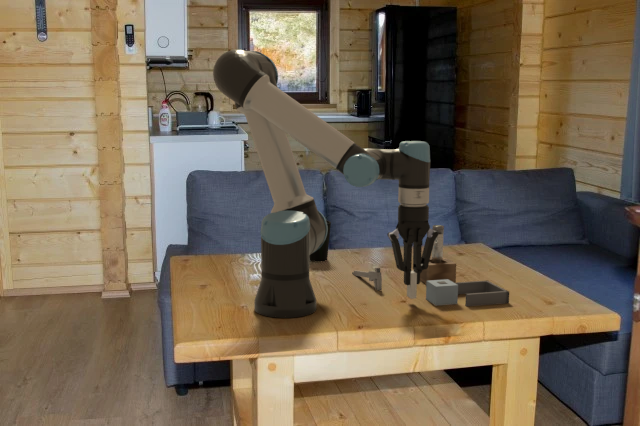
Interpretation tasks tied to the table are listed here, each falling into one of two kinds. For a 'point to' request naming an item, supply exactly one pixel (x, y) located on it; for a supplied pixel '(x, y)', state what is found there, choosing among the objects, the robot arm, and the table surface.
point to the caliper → (372, 277)
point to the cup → (322, 248)
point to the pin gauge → (438, 245)
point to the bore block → (439, 271)
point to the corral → (477, 296)
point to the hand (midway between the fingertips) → (411, 297)
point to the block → (441, 292)
